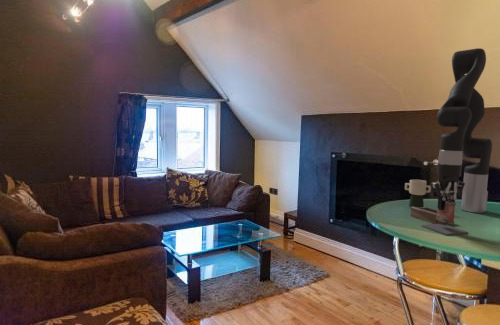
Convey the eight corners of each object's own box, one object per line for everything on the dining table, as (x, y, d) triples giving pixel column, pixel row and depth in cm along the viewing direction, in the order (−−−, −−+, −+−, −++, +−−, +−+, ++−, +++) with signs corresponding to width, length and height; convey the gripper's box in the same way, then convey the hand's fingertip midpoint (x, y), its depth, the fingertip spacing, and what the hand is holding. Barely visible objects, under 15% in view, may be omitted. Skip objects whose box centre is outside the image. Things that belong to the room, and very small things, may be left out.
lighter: (433, 217, 131) (435, 191, 130) (442, 218, 131) (444, 191, 130) (447, 223, 123) (450, 196, 122) (456, 224, 123) (459, 196, 122)
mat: (442, 224, 134) (442, 223, 134) (467, 233, 124) (468, 231, 124) (421, 226, 131) (421, 225, 131) (446, 235, 120) (446, 233, 120)
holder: (425, 214, 149) (426, 205, 149) (451, 223, 137) (452, 213, 136) (410, 215, 146) (411, 206, 146) (435, 224, 134) (436, 214, 134)
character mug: (430, 208, 162) (432, 180, 160) (428, 211, 156) (430, 182, 154) (404, 205, 168) (406, 178, 166) (402, 207, 162) (404, 180, 161)
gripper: (455, 161, 130) (451, 206, 132) (426, 162, 126) (422, 208, 128) (474, 164, 123) (469, 211, 125) (443, 164, 119) (439, 213, 121)
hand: (445, 209), depth 126 cm, fingers closed on lighter, 4 cm apart
